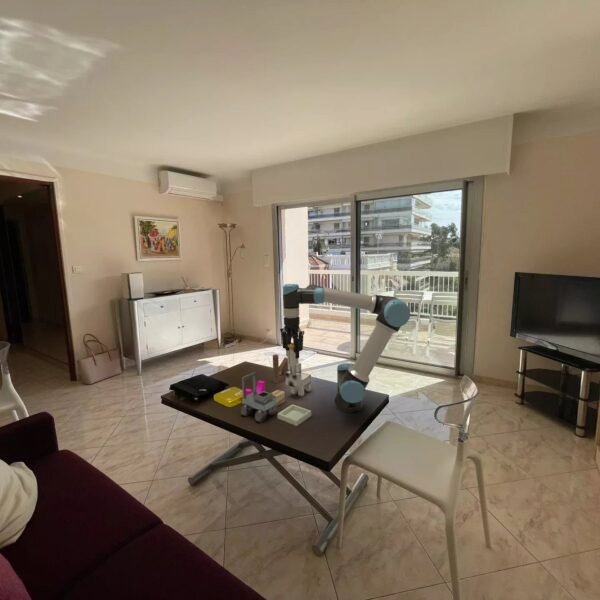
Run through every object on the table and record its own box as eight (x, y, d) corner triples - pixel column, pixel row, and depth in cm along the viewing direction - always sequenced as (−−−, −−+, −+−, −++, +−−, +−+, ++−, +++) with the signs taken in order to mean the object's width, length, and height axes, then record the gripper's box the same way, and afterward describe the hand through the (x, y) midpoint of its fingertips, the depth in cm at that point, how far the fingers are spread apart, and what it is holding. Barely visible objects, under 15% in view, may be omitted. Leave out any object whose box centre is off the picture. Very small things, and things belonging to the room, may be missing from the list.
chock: (284, 402, 176) (284, 391, 176) (276, 407, 171) (276, 396, 170) (278, 399, 179) (277, 389, 178) (269, 404, 174) (269, 394, 173)
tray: (311, 416, 160) (311, 410, 160) (296, 426, 151) (296, 421, 150) (292, 409, 167) (292, 404, 167) (277, 419, 158) (277, 413, 158)
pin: (299, 373, 156) (299, 343, 154) (294, 376, 153) (293, 345, 150) (292, 371, 159) (291, 342, 157) (286, 374, 155) (285, 344, 153)
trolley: (279, 413, 164) (278, 376, 161) (260, 425, 153) (258, 385, 150) (258, 405, 173) (257, 370, 170) (239, 416, 162) (237, 378, 159)
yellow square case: (233, 392, 190) (233, 385, 189) (250, 399, 181) (250, 391, 180) (212, 402, 179) (212, 394, 178) (229, 410, 169) (229, 401, 169)
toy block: (253, 405, 173) (253, 392, 172) (244, 403, 176) (243, 390, 175) (268, 394, 186) (268, 382, 185) (260, 392, 189) (259, 380, 188)
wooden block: (288, 379, 208) (288, 352, 205) (275, 383, 201) (274, 356, 198) (285, 377, 211) (284, 351, 208) (272, 382, 204) (271, 355, 201)
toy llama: (313, 389, 192) (312, 357, 189) (296, 400, 178) (296, 366, 175) (303, 386, 196) (302, 355, 193) (286, 397, 182) (285, 363, 179)
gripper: (310, 316, 150) (311, 364, 153) (283, 313, 159) (285, 358, 163) (300, 319, 144) (301, 369, 147) (273, 316, 153) (275, 362, 157)
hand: (293, 363), depth 155 cm, fingers closed on pin, 3 cm apart
